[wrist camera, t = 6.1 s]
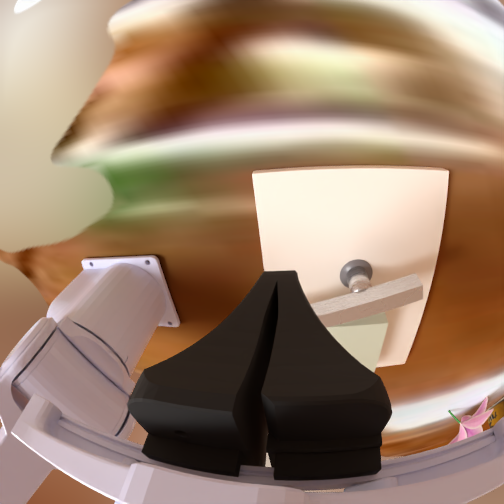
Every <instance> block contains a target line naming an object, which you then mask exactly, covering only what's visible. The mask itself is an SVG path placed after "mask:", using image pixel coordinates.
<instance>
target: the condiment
mask: <svg viewBox="0 0 504 504" xmlns="http://www.w3.org/2000/svg"><path fill="white" fill-rule="evenodd" d="M491 409H494V410H493V412H492V413H491V415H490V416H489V417H488V422H489V425H490V429H491V428H493V427H494V425H495V424H496V423H497V422H498V421H499V420H500V419H501V418H502V417H504V397H503V398H502V399H501V400H500V401H498V402H497V403H495V404H494V405H493V406H492V407H490V408H489V409H488V410H491ZM488 410H486V411H488ZM486 411H485V412H486Z"/></svg>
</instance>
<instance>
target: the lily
mask: <svg viewBox="0 0 504 504" xmlns="http://www.w3.org/2000/svg"><path fill="white" fill-rule="evenodd" d="M487 402H488V396H487V397H486V398H485V399H484V401H483V402H482V404H481V406H480V407H479V409H478V410H477V411H476V413H475V414H474V415H473V416H469V415H464V416H462V419H461V422H460V421H459V420H458V419H457V418H456V417H455V416H454V415H453V414H452V413H451V412H450V410H449V411H448V412H449V413H450V414H451V415H452V416H453V417H454V419H455V420H456V421H457V422H458V423H459V424H460V431H459V434H458V435H457V436H456V437H455V438H454V439H453V440H452V441H451V442H450V443H449V444H452V443H455V442H458V441H461V440H463V439H466V438H469V437H471V436H474V435H476V434H479V433H481V432H483V429H482V426H481V425H482V424H483V423H484V422H485V421H486V420H487V419H488V417H489V416H490V415H491V413H492V412H493V410H494V409H491V410H488V411H486V412H485V410H486V407H487ZM468 419H469V420H468ZM449 444H448V445H449Z"/></svg>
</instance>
